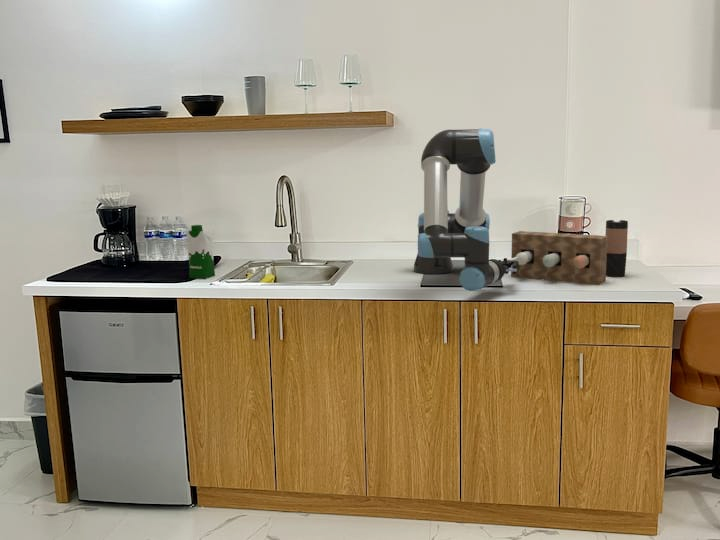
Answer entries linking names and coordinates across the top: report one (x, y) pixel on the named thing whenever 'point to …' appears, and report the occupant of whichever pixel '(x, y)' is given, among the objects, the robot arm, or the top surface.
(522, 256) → the cream button
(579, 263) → the terracotta button
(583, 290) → the top surface
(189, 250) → the milk carton
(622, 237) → the travel mug
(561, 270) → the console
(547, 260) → the sage button
